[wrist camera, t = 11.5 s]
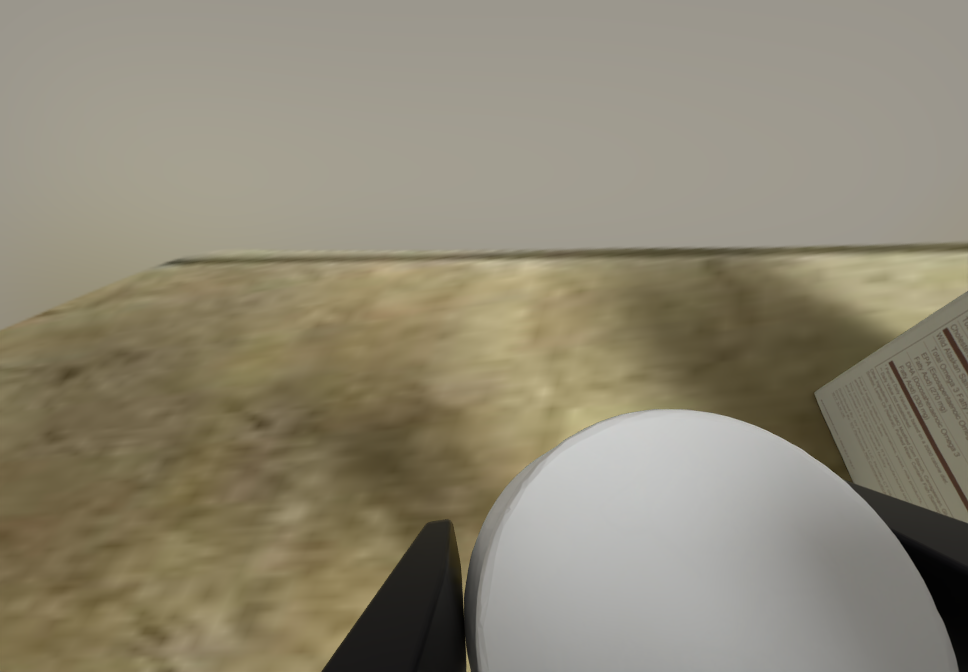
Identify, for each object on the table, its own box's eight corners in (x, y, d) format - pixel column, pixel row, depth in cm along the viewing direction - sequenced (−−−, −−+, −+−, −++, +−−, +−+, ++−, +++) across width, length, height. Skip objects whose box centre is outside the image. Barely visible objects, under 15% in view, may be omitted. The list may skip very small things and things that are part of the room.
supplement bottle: (482, 502, 15) (426, 385, 6) (662, 486, 15) (868, 343, 6) (497, 732, 12) (440, 1091, 4) (717, 716, 12) (1214, 1050, 3)
